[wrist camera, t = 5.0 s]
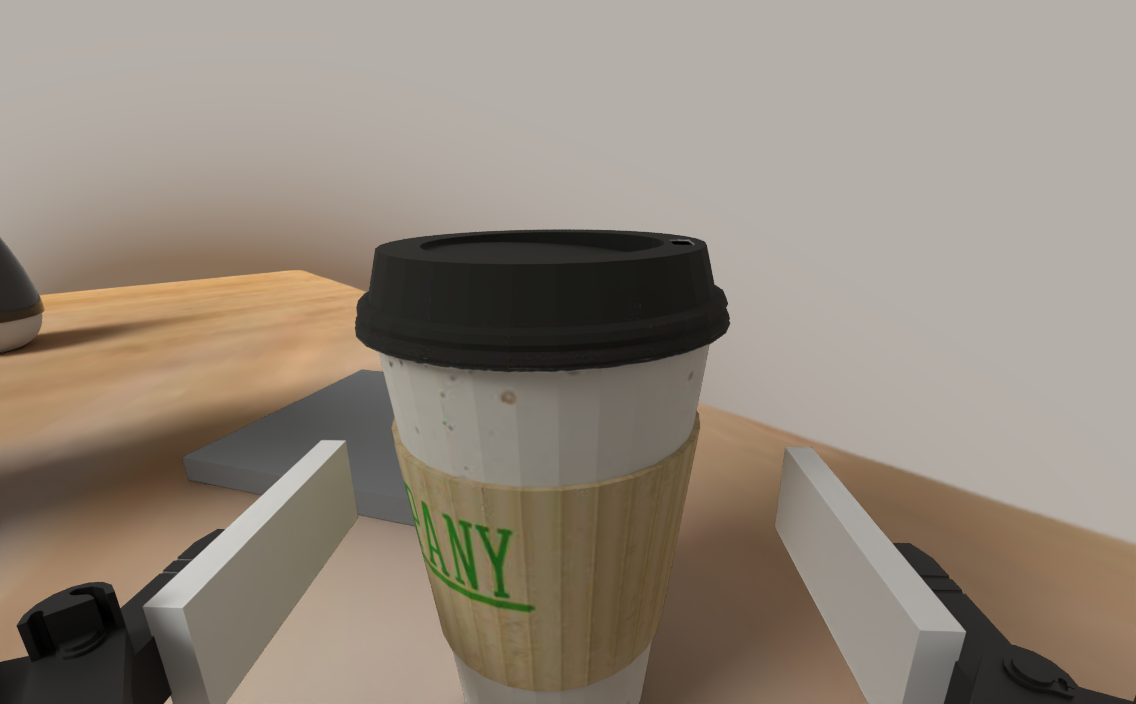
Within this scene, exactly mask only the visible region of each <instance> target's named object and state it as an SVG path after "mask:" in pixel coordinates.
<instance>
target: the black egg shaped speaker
mask: <svg viewBox="0 0 1136 704" xmlns="http://www.w3.org/2000/svg"><path fill="white" fill-rule="evenodd" d="M44 310H45V309H44V306H43V303H42V300H41V298H40V296H39V294H38V292H37V290H36V288H35V286H34V284H33V283H32V281H31V279H30V277H29V276H28V274H27V272H26V271H25V269H24V268H23V266H22V265H21V263H20V262H19V261H18V259H17V258H16V256H15V255H14V254H13V253H12V251H11V250H10V249H9V247H8V246H7V245H6V244H5V242H4V241H3V240H2V239H1V238H0V353H1V352H6V351H10V350H13V349H17V348H19V347H22V346H23V345H25V344H27V343H28V342H30V341H31V340H32V339H33V338H34V337H35V336H36V335H37V334H38V332H39V330H40V328H41V324H42V313H43V312H44Z"/></svg>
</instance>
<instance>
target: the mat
mask: <svg viewBox="0 0 1136 704" xmlns="http://www.w3.org/2000/svg"><path fill="white" fill-rule="evenodd" d="M394 417H395V416H394V412H393V408H392V404H391V400H390V396H389V392H388V388H387V384H386V380H385V376H384V372H379V371H370V370H360V371H358V372H356V373H354V374H352V375H350V376H348V377H346V378H344V379H342V380H340V381H338V382H335V383H333V384H331V385H329V386H327V387H325V388H323V389H321V390H319V391H317V392H315V393H313V394H311V395H309V396H307V397H305V398H303V399H301V400H299V401H296V402H294V403H292V404H290V405H288V406H286V407H284V408H282V409H280V410H278V411H276V412H274V413H272V414H270V415H268V416H266V417H264V418H262V419H260V420H258V421H255V422H253V423H251V424H249V425H247V426H245V427H243V428H241V429H239V430H237V431H235V432H233V433H231V434H229V435H227V436H225V437H223V438H221V439H219V440H216V441H214V442H212V443H210V444H208V445H206V446H204V447H202V448H200V449H198V450H196V451H194V452H192V453H190V454H188V455H186V456H184V457H182V458H183V462H184V466H185V470H186V474H187V478H188V480H192V481H197V482H202V483H206V484H211V485H216V486H221V487H226V488H231V489H236V490H241V491H246V492H251V493H256V494H260V495H263V494H264V493H265V492H266V491H267V490H268V489H270V488H271V487H272V486H273V485H274V484H275V483H276V482H277V481H278V480H279V479H280V478H281V477H282V476H283V475H285V474H286V473H287V472H288V471H289V470H290V469H291V468H292V467H293V466H294V465H295V464H296V463H297V462H299V461H300V460H301V459H302V458H303V457H304V456H305V455H306V454H307V453H308V452H309V451H310V450H311V449H313V448H314V447H315V446H316V445H317V444H318V443H319V442H320V441H321V440H342V441H346V444H347V451H348V457H349V464H350V470H351V477H352V484H353V490H354V497H355V503H356V510H357V514H359V515H363V516H368V517H373V518H378V519H383V520H388V521H393V522H398V523H403V524H408V525H412V526H415V523H414V519H413V515H412V511H411V507H410V503H409V499H408V495H407V492H406V488H405V484H404V480H403V476H402V472H401V468H400V465H399V461H398V457H397V453H396V449H395V445H394V441H393V436H392V431H391V428H392V425H393V421H394Z"/></svg>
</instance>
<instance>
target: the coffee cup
mask: <svg viewBox="0 0 1136 704" xmlns="http://www.w3.org/2000/svg"><path fill="white" fill-rule="evenodd" d="M727 305H728V302H727V299H726V296H725V294H724V292H723V290H722V289H720V288H719V287H717V286H716V285H714V280H713V275H712V270H711V264H710V259H709V254H708V250H707V245H706V243H705V242H704V241H701V240H699V239H696V238H691V237H686V236H680V235H672V234H663V233H652V232H637V231H615V230H513V231H512V230H511V231H487V232H470V233H456V234H444V235H433V236H424V237H416V238H409V239H403V240H398V241H393V242H389V243H385V244H382V245H380V246H378V247H377V248H376V249H375V255H374V261H373V268H372V275H371V281H370V288H369V292H367V293H365V294H364V295H363V296H362V297H361V298H360V299H359V300H358V304H357V317H356V321H355V324H356V327H355V331H356V337H357V338H358V339H359V340H360V341H361V342H362V343H363V344H364V345H365V346H366V347H369V348H371V349H373V350H375V351H378V352H379V356H380V360H381V364H382V368H383V372H384V376H385V380H386V384H387V388H388V392H389V396H390V400H391V404H392V408H393V412H394V416H395V417H394V421H393V425H392V428H391V431H392V436H393V441H394V445H395V449H396V453H397V457H398V461H399V465H400V468H401V472H402V476H403V480H404V484H405V488H406V492H407V495H408V499H409V503H410V507H411V511H412V515H413V519H414V523H415V526H416V530H417V534H418V538H419V542H420V546H421V550H422V553H423V557H424V561H425V565H426V569H427V573H428V577H429V581H430V584H431V588H432V592H433V596H434V600H435V604H436V608H437V611H438V615H439V619H440V623H441V627H442V631H443V634H444V636H445V638H446V640H447V642H448V643H449V645H450V647H451V649H452V651H453V654H454V658H455V662H456V666H457V670H458V674H459V678H460V682H461V686H462V690H463V694H464V698H465V702H466V704H639V703H640V699H641V695H642V690H643V684H644V679H645V674H646V669H647V664H648V659H649V653H650V648H651V643H652V639H653V637H654V635H655V634H656V632H657V629H658V626H659V622H660V619H661V616H662V612H663V607H664V602H665V597H666V592H667V587H668V582H669V577H670V572H671V567H672V562H673V557H674V553H675V548H676V543H677V538H678V533H679V528H680V523H681V518H682V513H683V508H684V503H685V498H686V493H687V489H688V484H689V479H690V474H691V469H692V464H693V459H694V454H695V449H696V444H697V439H698V434H699V430H700V421H699V413H698V412H697V406H698V401H699V395H700V391H701V386H702V381H703V375H704V370H705V365H706V360H707V355H708V350H709V345H710V344H711V343H713V342H714V341H716V340H717V339H718V338H720V337H721V336H723V335H724V334H725V333H726V332H727V329H728V327H729V325H730V322H729V319H730V318H729V314H728V311H727V309H726V307H727Z"/></svg>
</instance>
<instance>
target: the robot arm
mask: <svg viewBox="0 0 1136 704" xmlns="http://www.w3.org/2000/svg"><path fill="white" fill-rule="evenodd" d="M357 519H358V517H357V510H356V503H355V497H354V490H353V484H352V477H351V470H350V464H349V457H348V451H347V444H346V441H342V440H321V441H320V442H319V443H318V444H317V445H316V446H315V447H314V448H313V449H311V450H310V451H309V452H308V453H307V454H306V455H305V456H304V457H303V458H302V459H301V460H300V461H299V462H297V463H296V464H295V465H294V466H293V467H292V468H291V469H290V470H289V471H288V472H287V473H286V474H285V475H283V476H282V477H281V478H280V479H279V480H278V481H277V482H276V483H275V484H274V485H273V486H272V487H271V488H270V489H268V490H267V491H266V492H265V493H264V494H263V495H262V496H261V497H260V498H259V499H258V500H257V501H256V502H254V503H253V504H252V505H251V506H250V507H249V508H248V509H247V510H246V511H245V512H244V513H243V514H242V515H241V516H239V517H238V518H237V519H236V520H235V521H234V522H233V523H232V524H231V525H230V526H229V527H228V528H227V529H217V530H215V531H214V532H212V533H210V534H208V535H207V536H205V537H203V538H201V539H200V540H198V541H196V542H195V543H193V544H192V545H191V546H190V547H189V548H188V549H187V550H186V551H184V552H183V553H182V554H181V555H180V556H179V557H178V559H177V561H173V562H172V563H171V564H170V565H169V566H168V567H166V568H165V569H164V570H163V573H162V574H159V575H158V576H156V577H155V578H154V579H153V580H152V581H151V582H150V583H149V584H147V585H146V586H145V587H144V588H143V589H142V590H141V591H140V592H138V593H137V594H136V595H135V596H134V597H133V598H132V599H131V600H129V601H128V602H127V603H126V604H125V605H124V606H123V607H122V608H120V606H119V603H118V600H117V597H116V594H115V591H114V589H113V587H112V585H111V584H108V583H105V582H92V583H85V584H81V585H78V586H74V587H70V588H68V589H66V590H63V591H61V592H58V593H56V594H53V595H52V596H50V597H48V598H47V599H45V600H43V601H41V602H40V603H38V604H36V605H35V606H34V607H33V608H32V609H30V610H29V611H28V612H27V613H26V614H24V615H23V617H22V618H21V620H20V621H19V623H18V624H17V628H18V630H19V633H20V635H21V638H22V640H23V643H24V645H25V647H26V650H27V652H28V655H29V656H26V657H22V658H17V659H12V660H7V661H2V662H0V704H164V703H165V701H166V700H167V699H168V698H169V697H170V695H171V699H172V702H173V704H226V703H227V701H228V700H229V698H230V697H231V696H232V694H233V693H234V691H235V690H236V688H237V687H238V686H239V684H240V683H241V681H242V680H243V679H244V677H245V676H246V674H247V673H248V672H249V670H250V669H251V667H252V666H253V665H254V663H255V662H256V660H257V659H258V658H259V656H260V655H261V653H262V652H263V651H264V649H265V648H266V646H267V645H268V644H269V642H270V641H271V639H272V638H273V637H274V635H275V634H276V632H277V631H278V630H279V628H280V627H281V625H282V624H283V622H284V621H285V620H286V618H287V617H288V615H289V614H290V613H291V611H292V610H293V608H294V607H295V606H296V604H297V603H298V601H299V600H300V599H301V597H302V596H303V594H304V593H305V592H306V590H307V589H308V587H309V586H310V585H311V583H312V582H313V580H314V579H315V578H316V576H317V575H318V573H319V572H320V571H321V569H322V568H323V566H324V565H325V564H326V562H327V561H328V559H329V558H330V557H331V555H332V554H333V552H334V551H335V549H336V548H337V547H338V545H339V544H340V542H341V541H342V540H343V538H344V537H345V535H346V534H347V533H348V531H349V530H350V528H351V527H352V526H353V524H354V523H355V521H356V520H357ZM775 528H776V530H777V532H778V534H779V536H780V538H781V540H782V542H783V543H784V545H785V547H786V549H787V551H788V553H789V555H790V557H791V559H792V560H793V562H794V564H795V566H796V568H797V570H798V572H799V574H800V576H801V577H802V579H803V581H804V583H805V585H806V587H807V589H808V591H809V593H810V594H811V596H812V598H813V600H814V602H815V604H816V606H817V608H818V610H819V611H820V613H821V615H822V617H823V619H824V621H825V623H826V625H827V627H828V628H829V630H830V632H831V634H832V636H833V638H834V640H835V642H836V644H837V645H838V647H839V649H840V651H841V653H842V655H843V657H844V659H845V660H846V662H847V664H848V666H849V668H850V670H851V672H852V674H853V676H854V677H855V679H856V681H857V683H858V685H859V687H860V689H861V691H862V693H863V694H864V696H865V698H866V700H867V702H868V704H1136V696H1135V699H1134V701H1129V700H1125V699H1121V698H1118V697H1114V696H1110V695H1107V694H1103V693H1099V692H1095V691H1092V690H1088V689H1084V688H1081V687H1079V686H1078V685H1077V684H1076V683H1075V682H1074V680H1073V679H1072V678H1071V677H1070V676H1069V675H1068V674H1067V673H1066V672H1065V671H1063V670H1062V669H1061V668H1060V667H1058V666H1057V665H1056V664H1054V663H1053V662H1052V661H1050V660H1048V659H1046V658H1044V657H1043V656H1041V655H1039V654H1037V653H1035V652H1033V651H1030V650H1027V649H1024V648H1021V647H1018V646H1016V645H1011V644H1010V642H1009V641H1008V640H1007V639H1006V638H1005V637H1004V636H1003V635H1002V634H1001V633H1000V631H999V630H998V629H997V628H996V627H995V626H994V625H993V624H992V623H991V622H990V620H989V619H988V618H987V617H986V616H985V615H984V614H983V613H982V612H981V611H980V610H979V608H978V607H977V606H976V605H975V604H974V603H973V602H972V601H971V600H970V599H969V597H968V596H967V595H966V594H963V593H962V590H961V589H960V588H959V586H958V585H957V584H956V583H955V582H954V581H953V580H952V579H949V575H948V574H947V573H946V572H945V571H944V570H943V569H942V568H941V567H940V566H939V564H938V563H937V562H936V561H935V560H934V559H933V558H932V557H930V556H929V555H927V554H926V553H924V552H923V551H921V550H920V549H918V548H917V547H915V546H914V545H912V544H911V543H892V542H891V541H890V540H889V539H888V538H887V536H886V535H885V534H884V533H883V532H882V530H881V529H880V528H879V527H878V526H877V524H876V523H875V522H874V521H873V520H872V518H871V517H870V516H869V515H868V514H867V512H866V511H865V510H864V509H863V508H862V506H861V505H860V504H859V503H858V502H857V500H856V499H855V498H854V497H853V496H852V494H851V493H850V492H849V491H848V490H847V488H846V487H845V486H844V485H843V484H842V482H841V481H840V480H839V479H838V478H837V477H836V475H835V474H834V473H833V472H832V471H831V469H830V468H829V467H828V466H827V465H826V463H825V462H824V461H823V460H822V459H821V457H820V456H819V455H818V454H817V453H816V451H815V450H814V449H813V448H812V447H785V453H784V461H783V468H782V476H781V484H780V492H779V499H778V507H777V515H776V523H775Z"/></svg>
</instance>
